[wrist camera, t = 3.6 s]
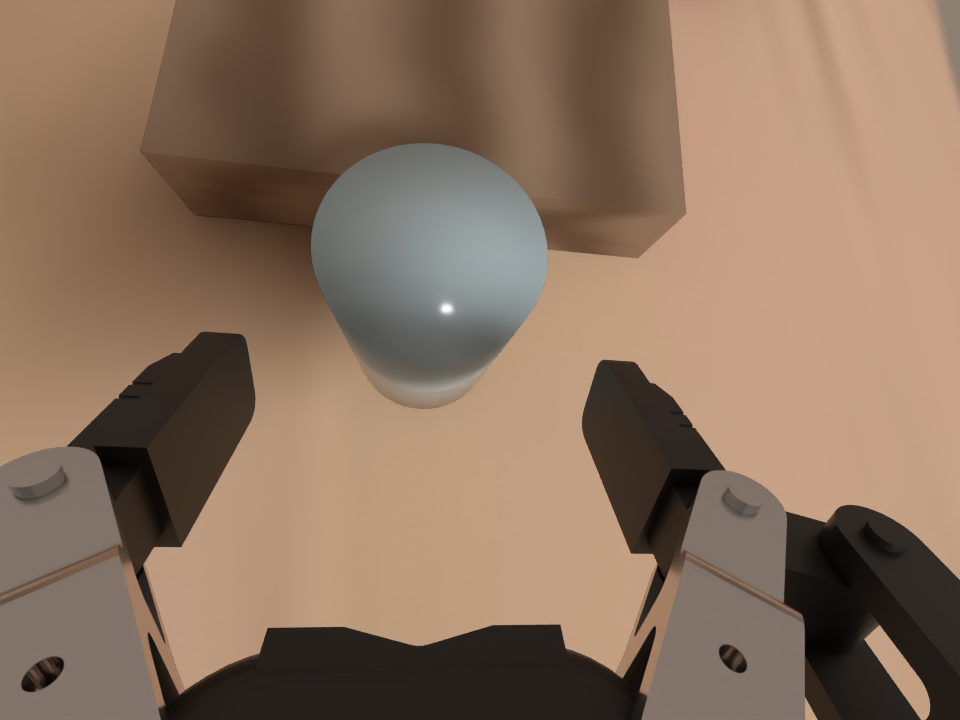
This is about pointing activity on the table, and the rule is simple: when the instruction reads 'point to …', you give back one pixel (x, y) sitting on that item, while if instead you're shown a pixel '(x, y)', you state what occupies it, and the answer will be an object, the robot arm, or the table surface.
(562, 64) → the walnut stand
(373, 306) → the ceramic jar
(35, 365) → the table surface
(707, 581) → the robot arm
